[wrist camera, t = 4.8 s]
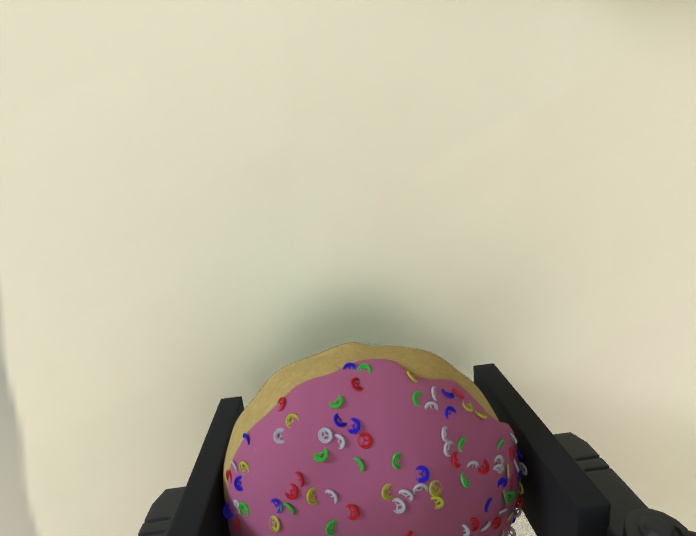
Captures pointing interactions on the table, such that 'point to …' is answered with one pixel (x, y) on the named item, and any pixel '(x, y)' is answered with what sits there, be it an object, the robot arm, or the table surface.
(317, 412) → the cupcake
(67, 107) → the table surface
